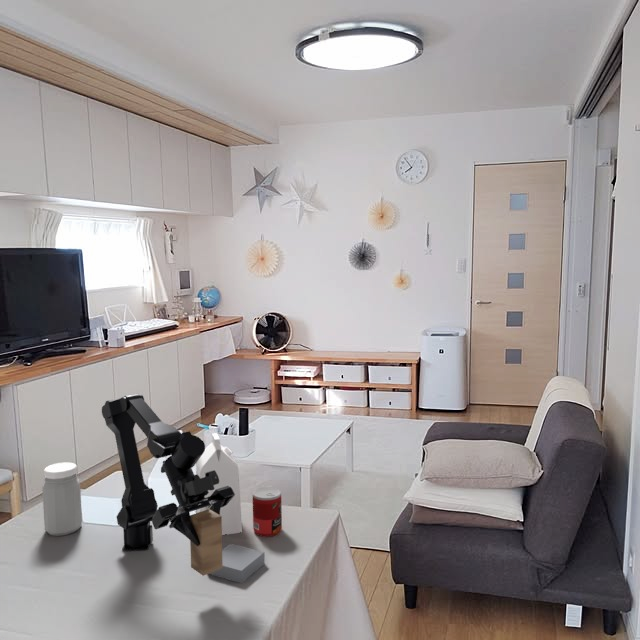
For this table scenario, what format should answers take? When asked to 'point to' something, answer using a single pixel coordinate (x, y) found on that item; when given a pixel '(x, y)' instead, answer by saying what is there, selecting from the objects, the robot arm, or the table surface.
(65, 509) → the jar
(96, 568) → the table surface
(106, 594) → the table surface
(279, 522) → the canned food
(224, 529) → the milk
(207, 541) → the walnut block
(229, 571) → the plate
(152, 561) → the table surface
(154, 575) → the table surface
